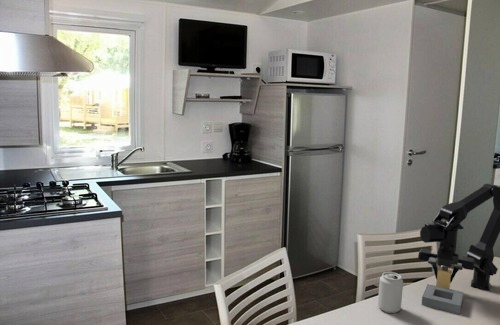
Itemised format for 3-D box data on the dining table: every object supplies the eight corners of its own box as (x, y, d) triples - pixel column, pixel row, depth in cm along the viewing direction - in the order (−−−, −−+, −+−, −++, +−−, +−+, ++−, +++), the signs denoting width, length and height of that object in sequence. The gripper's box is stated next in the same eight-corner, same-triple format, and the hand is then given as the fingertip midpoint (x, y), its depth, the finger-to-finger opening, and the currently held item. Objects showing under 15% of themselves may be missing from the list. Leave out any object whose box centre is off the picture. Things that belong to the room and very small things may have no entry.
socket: (426, 291, 163) (427, 283, 162) (462, 299, 157) (463, 292, 157) (421, 304, 153) (422, 296, 152) (459, 314, 147) (460, 305, 146)
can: (402, 315, 145) (405, 281, 143) (378, 312, 146) (381, 278, 144) (399, 304, 152) (402, 271, 150) (376, 302, 154) (379, 269, 152)
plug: (437, 283, 168) (439, 263, 166) (450, 286, 165) (452, 266, 164) (435, 288, 164) (438, 267, 163) (448, 291, 162) (451, 270, 160)
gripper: (417, 241, 159) (413, 282, 162) (475, 252, 150) (470, 295, 153) (422, 233, 169) (418, 272, 171) (477, 243, 160) (472, 283, 162)
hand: (443, 280), depth 164 cm, fingers closed on plug, 4 cm apart
